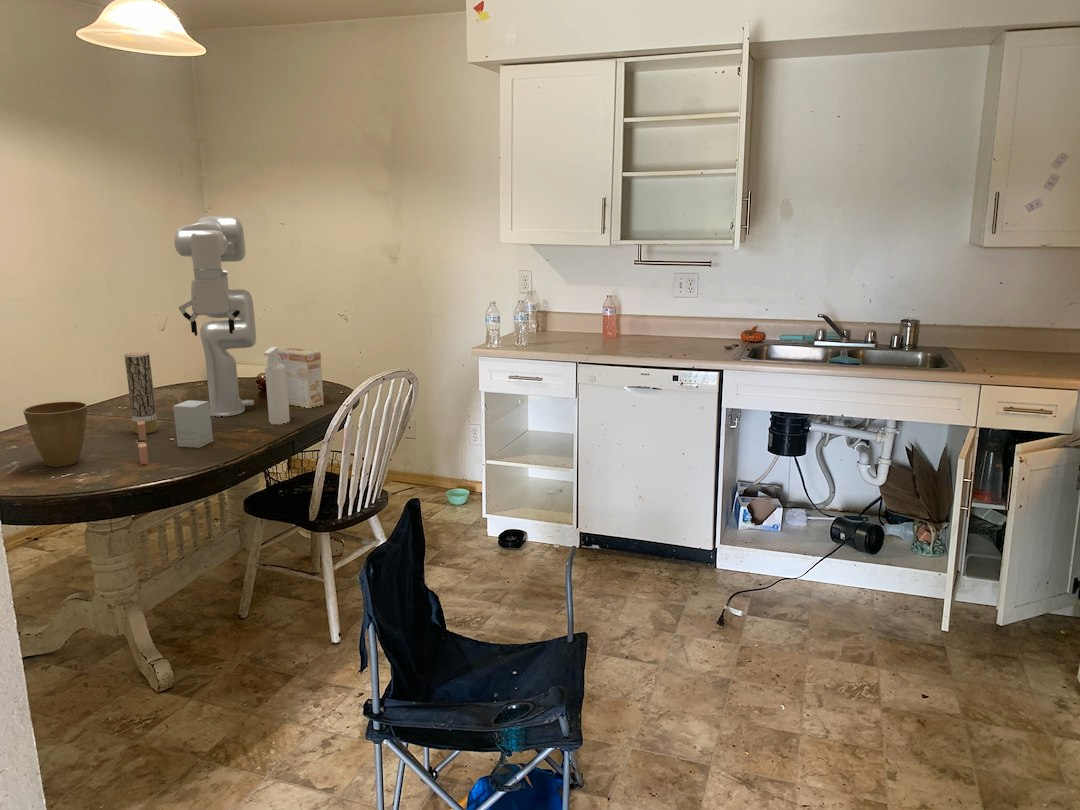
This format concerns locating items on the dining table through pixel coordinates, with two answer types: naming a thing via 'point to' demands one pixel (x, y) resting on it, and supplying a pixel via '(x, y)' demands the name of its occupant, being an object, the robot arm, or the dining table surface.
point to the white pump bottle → (276, 388)
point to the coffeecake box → (303, 377)
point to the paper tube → (141, 390)
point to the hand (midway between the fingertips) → (213, 334)
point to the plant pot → (58, 430)
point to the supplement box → (193, 423)
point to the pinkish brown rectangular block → (142, 446)
